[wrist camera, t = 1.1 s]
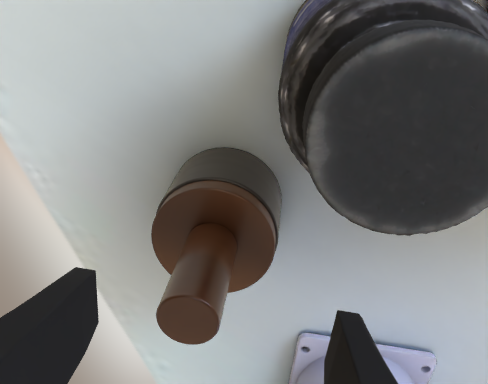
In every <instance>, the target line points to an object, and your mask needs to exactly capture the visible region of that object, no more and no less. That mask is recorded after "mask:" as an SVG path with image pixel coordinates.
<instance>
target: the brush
mask: <svg viewBox="0 0 488 384" xmlns="http://www.w3.org/2000/svg"><path fill="white" fill-rule="evenodd" d="M281 202H282V199H281V191H280V187H279V184H278V181H277V179H276V178H275V176H274V174H273V173H272V171H271V170H270V169H269V168H268V167H267V166H266V165H265V164H264V163H263V162H262V161H261V160H259V159H258V158H256V157H255V156H253V155H251V154H249V153H247V152H244V151H241V150H237V149H232V148H215V149H209V150H206V151H203V152H201V153H199V154H196V155H195V156H193V157H192V158H190V159H189V160H188V161H187V162H186V163H185V164H184V165H183V166H182V168H181V169H180V171H179V172H178V174H177V176H176V177H175V179H174V181H173V183H172V184H171V186H170V188H169V189H168V191H167V193H166V194H165V196H164V198H163V199H162V201H161V203H160V205H159V207H158V209H157V212H156V216H155V219H154V222H153V226H152V244H153V248H154V251H155V254H156V256H157V258H158V260H159V261H160V263H161V264H162V266H163V267H164V268H165V269H166V270H167V272H168V273H170V274H171V277H170V280H169V282H168V285H167V287H166V289H165V292H164V294H163V297H162V299H161V301H160V304H159V306H158V308H157V313H156V317H157V322H158V325H159V327H160V328H161V330H162V331H163V332H164V333H165V334H166V335H167V336H168V337H170V338H171V339H173V340H175V341H177V342H180V343H184V344H201V343H205V342H207V341H209V340H210V339H212V338H213V337H214V336H215V335H216V334H217V332H218V330H219V327H220V322H221V318H222V314H223V309H224V305H225V301H226V296H227V293H230V292H235V291H239V290H242V289H245V288H247V287H249V286H251V285H252V284H254V283H255V282H257V281H258V280H259V279H260V278H261V277H262V276H263V275H264V274H265V273H266V272H267V270H268V269H269V267H270V265H271V263H272V260H273V257H274V253H275V251H276V248H277V244H278V235H279V224H280V213H281Z"/></svg>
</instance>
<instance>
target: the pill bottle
mask: <svg viewBox="0 0 488 384" xmlns="http://www.w3.org/2000/svg"><path fill="white" fill-rule="evenodd" d="M278 100H279V112H280V122H281V127H282V129H283V134H284V136H285V139H286V141H287V143H288V145H289V146H290V149H291V151H292V153H293V154H294V155H295V157H296V159H297V160H299V162H300V164H301V165H302V166H303V167H304V168H305V169H306V170H307V171H308V172H309V173H310V175H311V178H312V180H313V182H314V184H315V186H316V188H317V189H318V191H319V193H320V194H321V195H322V196H323V198H324V199H325V200H326V202H327V203H328V204H329V205H330V206H331V207H332V208H333V209H334V210H335V211H336V212H338V213H339V214H340V215H342V216H344V217H346V218H347V219H348V220H350V221H351V222H353V223H355V224H357V225H360V226H362V227H364V228H367V229H370V230H372V231H376V232H381V233H387V234H396V235H409V236H410V235H413V234H419V233H423V234H427V233H430V232H437V231H440V230H443V229H447V228H449V227H452V226H456V225H458V224H460V223H461V222H464V221H466V220H468V219H470V218H471V217H473V216H475V215H477V214H478V213H480V212H481V211H482V210H483V209H485V208H487V207H488V15H487V13H486V12H485V10H484V9H483V8H482V7H481V6H480V5H479V4H477V3H476V2H474V1H473V0H306V1H305V2H304V3H303V5H302V6H301V7H300V8H299V10H298V12H297V14H296V15H295V17H294V19H293V22H292V24H291V26H290V29H289V32H288V35H287V41H286V47H285V53H284V60H283V67H282V73H281V78H280V85H279V92H278Z"/></svg>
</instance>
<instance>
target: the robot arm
mask: <svg viewBox="0 0 488 384" xmlns="http://www.w3.org/2000/svg"><path fill="white" fill-rule="evenodd" d="M97 306H98V305H97V288H96V271H95V270H89V269H83V268H77V267H76V268H74V269H73V270H71V271H70V272H68V273H67V274H65V275H64V276H62V277H61V278H59V279H58V280H56V281H55V282H54V283H52V284H51V285H49V286H48V287H46V288H45V289H43V290H42V291H41V292H39V293H38V294H36V295H35V296H33V297H32V298H30V299H29V300H27V301H26V302H24V303H23V304H21V305H20V306H18V307H17V308H15V309H14V310H12V311H10V312H9V313H7V314H6V315H4V316H2V317H1V318H0V384H67V383H68V382H69V380H70V378H71V376H72V375H73V373H74V371H75V370H76V368H77V366H78V365H79V363H80V361H81V360H82V358H83V356H84V354H85V352H86V350H87V348H88V346H89V343H90V341H91V339H92V337H93V334H94V332H95V329H96V327H97V325H98V307H97ZM305 346H306V347H308V348H303V347H305ZM436 365H437V360H436V357H435V355H434V354H433V353H430V352H424V351H418V350H411V349H405V348H399V347H393V346H386V345H380V344H375V343H374V341H373V339H372V337H371V335H370V333H369V331H368V329H367V327H366V325H365V323H364V321H363V319H362V317H361V316H360V314H358V313H351V312H345V311H339V310H338V311H337V315H336V319H335V322H334V326H333V330H332V333H331V337H330V336H324V335H318V334H312V333H303V334H301V335H299V337H298V341H297V346H296V351H295V355H294V360H293V365H292V370H291V374H290V379H289V384H428V383H429V381H430V379H431V376H432V374H433V372H434V369H435V367H436ZM423 366H426V367H423Z"/></svg>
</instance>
